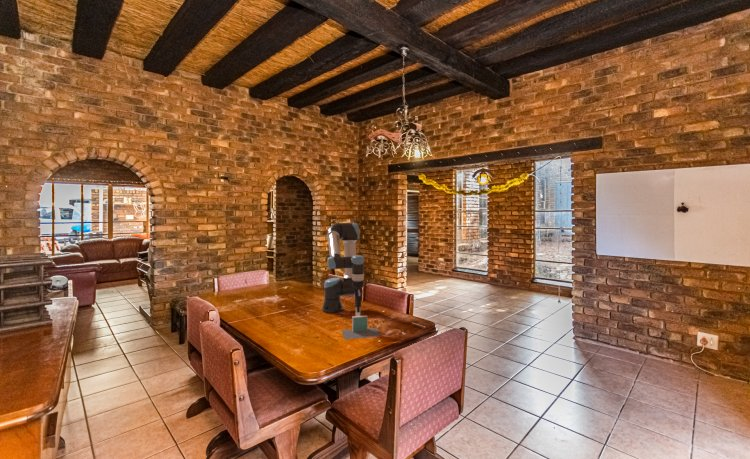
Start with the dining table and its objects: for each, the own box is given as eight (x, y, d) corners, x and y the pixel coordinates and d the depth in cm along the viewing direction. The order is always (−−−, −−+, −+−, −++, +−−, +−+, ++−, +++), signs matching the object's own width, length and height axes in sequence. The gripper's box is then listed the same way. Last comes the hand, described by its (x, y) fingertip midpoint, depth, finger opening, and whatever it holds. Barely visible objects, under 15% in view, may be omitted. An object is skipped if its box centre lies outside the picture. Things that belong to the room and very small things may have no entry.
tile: (352, 330, 206) (352, 316, 206) (366, 329, 208) (366, 315, 208) (352, 332, 204) (352, 317, 204) (367, 330, 206) (367, 316, 205)
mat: (341, 331, 207) (341, 330, 207) (376, 328, 212) (376, 327, 211) (344, 340, 193) (344, 339, 193) (381, 337, 198) (381, 336, 198)
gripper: (350, 278, 217) (350, 313, 219) (353, 282, 204) (353, 320, 206) (362, 277, 218) (362, 313, 220) (365, 282, 206) (365, 319, 207)
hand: (358, 316), depth 213 cm, fingers closed
